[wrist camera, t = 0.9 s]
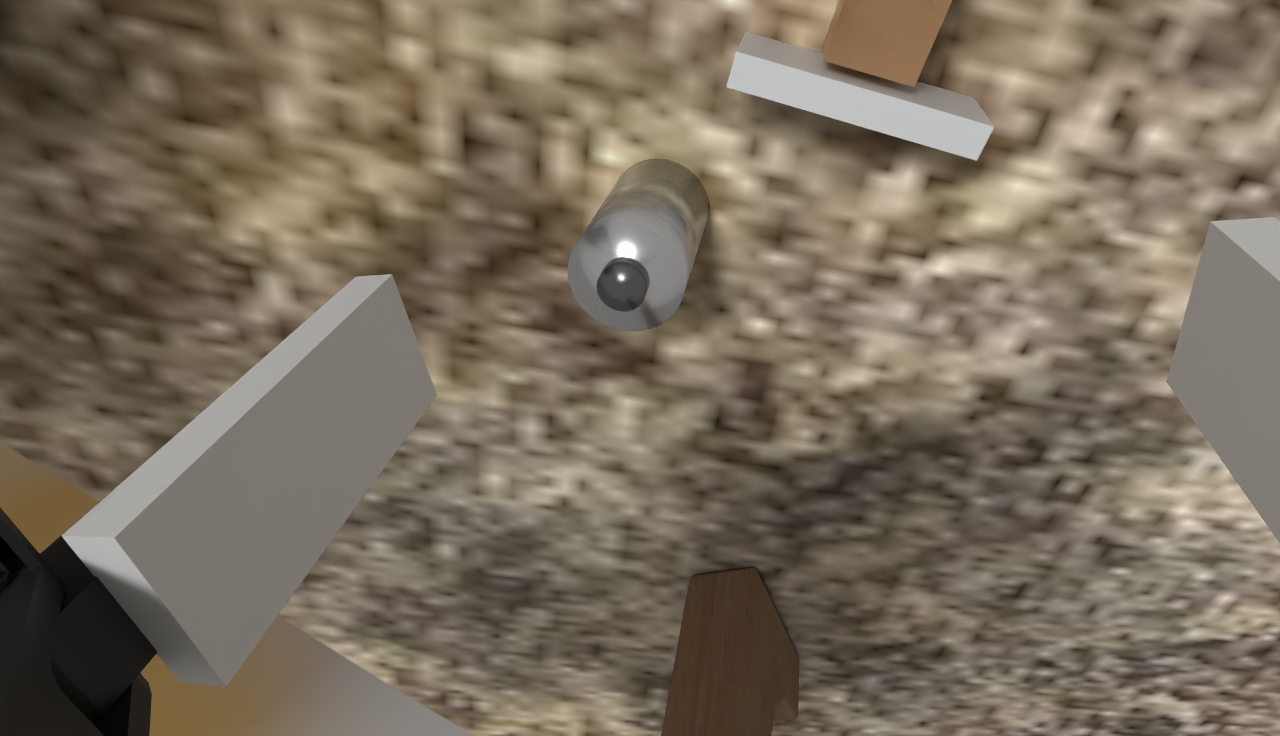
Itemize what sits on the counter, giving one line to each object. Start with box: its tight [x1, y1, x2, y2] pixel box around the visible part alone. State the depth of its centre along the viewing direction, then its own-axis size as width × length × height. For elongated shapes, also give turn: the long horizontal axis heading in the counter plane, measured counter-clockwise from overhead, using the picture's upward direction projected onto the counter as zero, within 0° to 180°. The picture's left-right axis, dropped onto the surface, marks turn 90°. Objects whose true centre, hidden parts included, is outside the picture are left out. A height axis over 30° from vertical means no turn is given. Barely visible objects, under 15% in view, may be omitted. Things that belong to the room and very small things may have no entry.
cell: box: [568, 159, 709, 331], centre depth 29 cm, size 4×4×8 cm
